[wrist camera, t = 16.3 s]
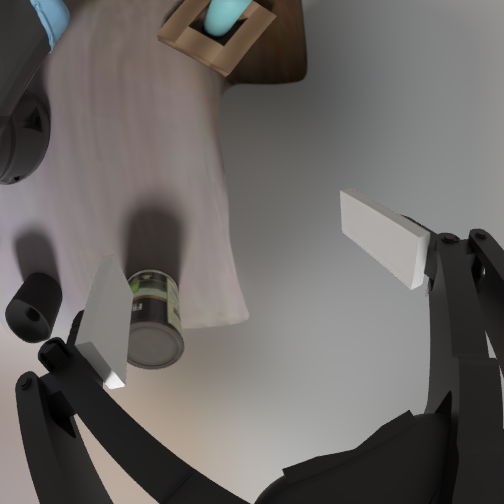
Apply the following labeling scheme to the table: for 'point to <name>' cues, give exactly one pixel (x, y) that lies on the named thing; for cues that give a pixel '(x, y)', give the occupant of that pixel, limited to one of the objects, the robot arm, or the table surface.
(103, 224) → the table surface
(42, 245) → the table surface
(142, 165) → the table surface
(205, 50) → the walnut hole block
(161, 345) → the coffee can
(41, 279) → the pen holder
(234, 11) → the teal pin
